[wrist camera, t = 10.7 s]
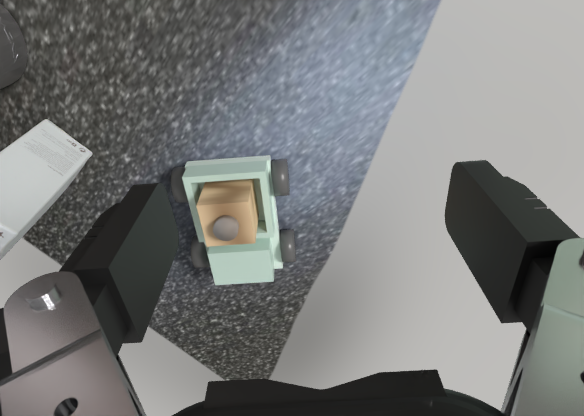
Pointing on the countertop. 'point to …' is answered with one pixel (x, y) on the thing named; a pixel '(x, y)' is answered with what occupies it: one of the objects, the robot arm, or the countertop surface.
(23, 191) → the skincare box
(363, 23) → the countertop surface
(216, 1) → the countertop surface
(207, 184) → the wooden block with knob
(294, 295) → the countertop surface
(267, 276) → the chassis
